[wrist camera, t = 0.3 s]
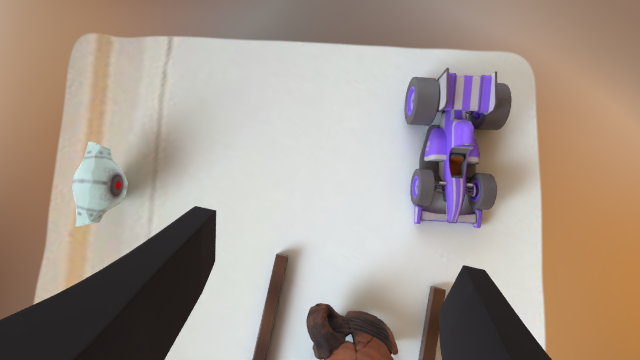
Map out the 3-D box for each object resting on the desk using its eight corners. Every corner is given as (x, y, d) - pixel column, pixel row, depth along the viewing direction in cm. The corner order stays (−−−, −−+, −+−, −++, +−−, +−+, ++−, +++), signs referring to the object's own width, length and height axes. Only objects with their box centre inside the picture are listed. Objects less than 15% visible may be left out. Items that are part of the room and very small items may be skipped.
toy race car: (400, 223, 40) (417, 220, 34) (404, 87, 42) (421, 61, 36) (489, 228, 40) (524, 227, 34) (489, 93, 42) (521, 68, 36)
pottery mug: (418, 355, 39) (422, 432, 31) (343, 384, 42) (330, 460, 34) (351, 265, 37) (338, 323, 29) (278, 303, 40) (249, 364, 32)
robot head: (108, 151, 40) (67, 134, 34) (146, 153, 40) (114, 138, 34) (96, 227, 39) (52, 225, 32) (136, 229, 39) (100, 228, 32)
